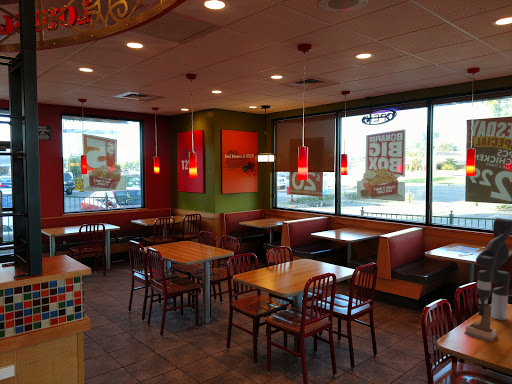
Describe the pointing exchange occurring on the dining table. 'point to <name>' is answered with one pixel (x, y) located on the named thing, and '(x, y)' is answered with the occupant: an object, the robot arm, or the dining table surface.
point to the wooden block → (484, 319)
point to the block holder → (480, 333)
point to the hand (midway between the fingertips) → (482, 314)
